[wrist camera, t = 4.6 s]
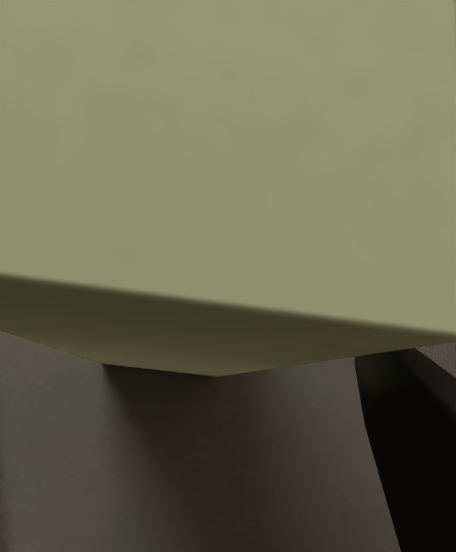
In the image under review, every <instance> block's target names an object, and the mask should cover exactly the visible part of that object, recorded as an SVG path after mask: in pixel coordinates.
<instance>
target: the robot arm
mask: <svg viewBox="0 0 456 552" xmlns="http://www.w3.org/2000/svg"><path fill="white" fill-rule="evenodd" d="M355 369H356V375H357V381H358V387H359V393H360V399H361V405H362V411H363V417H364V422H365V427H366V430H367V434H368V438H369V441H370V445H371V448H372V452H373V455H374V459H375V462H376V466H377V469H378V473H379V476H380V480H381V483H382V487H383V490H384V494H385V497H386V501H387V504H388V508H389V511H390V515H391V518H392V522H393V525H394V529H395V532H396V536H397V539H398V542H399V546H400V549H401V552H456V378H455V377H454V376H452V375H451V374H450V373H448V372H447V371H446V370H444V369H443V368H441V367H440V366H439V365H437V364H436V363H435V362H433V361H432V360H431V359H429V358H428V357H427V356H425V355H424V354H422V353H421V352H420V351H418V350H417V349H416V348H409V349H402V350H395V351H389V352H382V353H375V354H368V355H361V356H355Z"/></svg>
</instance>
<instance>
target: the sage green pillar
mask: <svg viewBox="0 0 456 552" xmlns="http://www.w3.org/2000/svg"><path fill="white" fill-rule="evenodd" d="M0 330H1V331H4V332H7V333H10V334H13V335H16V336H19V337H22V338H25V339H28V340H31V341H34V342H37V343H40V344H43V345H46V346H50V347H53V348H56V349H59V350H62V351H65V352H68V353H71V354H74V355H77V356H80V357H83V358H86V359H89V360H92V361H95V362H99V363H102V364H109V365H118V366H127V367H136V368H145V369H154V370H163V371H172V372H181V373H190V374H199V375H207V376H216V377H218V376H225V375H232V374H239V373H246V372H252V371H259V370H266V369H273V368H280V367H286V366H293V365H300V364H307V363H314V362H320V361H327V360H334V359H341V358H348V357H355V356H361V355H368V354H375V353H382V352H389V351H395V350H402V349H409V348H416V347H423V346H430V345H436V344H443V343H450V342H456V0H0Z"/></svg>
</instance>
